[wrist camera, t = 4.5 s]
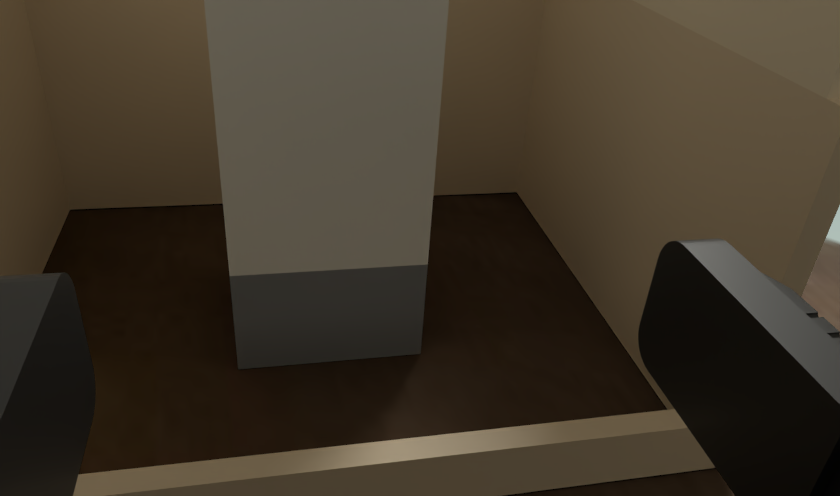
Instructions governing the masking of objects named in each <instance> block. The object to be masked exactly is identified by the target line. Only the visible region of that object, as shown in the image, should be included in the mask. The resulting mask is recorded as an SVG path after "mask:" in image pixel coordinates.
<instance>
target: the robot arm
mask: <svg viewBox="0 0 840 496" xmlns="http://www.w3.org/2000/svg"><path fill="white" fill-rule="evenodd" d="M839 333H840V332H839V331H838V330H837V329H836V328H835V327H834V326H832V325H831V324H830V323H829V322H828V321H827V320H826V319H825V318H824V317H820V318H819V317H818V312H817V311H816V310H815V309H814V308H812V307H811V306H810V305H809V304H808V303H807V302H806V301H805V300H803V299H802V298H801V297H800V296H799V295H798V294H797V293H796V292H795V291H793V290H792V289H791V288H789V287H787V286H785V285H784V284H782V283H780V282H778V281H776V280H774V279H773V278H771V277H769V276H767V275H765V274H764V273H762V272H760V271H759V270H758V269H757V268H755V267H754V266H753V265H752V264H751V263H750V262H749V261H748V260H747V259H746V258H745V257H743V256H742V255H741V254H740V253H739V252H738V251H737V250H736V249H735V248H734V247H733V246H731V245H730V244H729V243H728V242H727V241H725V240H723V239H718V238H716V239H698V240H680V241H670V242H668V243H667V244H665V245H664V247H663V248H662V250H661V251H660V254H659V257H658V260H657V264H656V267H655V271H654V274H653V278H652V282H651V285H650V289H649V292H648V296H647V300H646V303H645V307H644V310H643V314H642V318H641V321H640V325H639V331H638V344H639V351H640V355H641V358H642V361H643V363H644V365H645V367H646V369H647V370H648V372H649V373H650V375H651V376H652V377H653V379H654V380H655V382H656V383H657V385H658V386H659V387H660V389H661V390H662V392H663V393H664V395H665V396H666V397H667V399H668V400H669V402H670V403H671V405H672V406H673V407H674V409H675V410H676V412H677V413H678V415H679V416H680V417H681V419H682V420H683V422H684V423H685V425H686V426H687V427H688V429H689V430H690V432H691V433H692V435H693V436H694V437H695V439H696V440H697V442H698V443H699V445H700V446H701V447H702V449H703V450H704V452H705V453H706V455H707V456H708V457H709V459H710V460H711V462H712V463H713V465H714V466H715V467H716V469H717V470H718V472H719V473H720V475H721V476H722V477H723V479H724V480H725V482H726V483H727V485H728V486H729V487H730V489H731V490H732V492H733V493H734V495H735V496H840V335H839ZM94 408H95V377H94V370H93V365H92V360H91V356H90V352H89V348H88V343H87V339H86V335H85V330H84V326H83V322H82V317H81V313H80V309H79V305H78V300H77V296H76V292H75V288H74V284H73V282H72V279H71V278H70V276H69V275H68V274H67V273H46V274H28V275H9V276H0V496H73V494H74V490H75V486H76V482H77V478H78V474H79V470H80V467H81V463H82V459H83V455H84V451H85V447H86V443H87V439H88V436H89V432H90V428H91V424H92V420H93V415H94Z"/></svg>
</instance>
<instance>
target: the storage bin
mask: <svg viewBox="0 0 840 496" xmlns="http://www.w3.org/2000/svg"><path fill="white" fill-rule="evenodd" d="M511 192H517V194H518V195H519V196H520V198H521V199H522V201H523V202H524V204H525V205H526V207H527V208H528V209H529V211H530V212H531V214H532V215H533V217H534V218H535V220H536V221H537V222H538V224H539V225H540V227H541V228H542V230H543V231H544V232H545V234H546V235H547V237H548V238H549V240H550V241H551V243H552V244H553V245H554V247H555V248H556V250H557V251H558V253H559V254H560V256H561V257H562V258H563V260H564V261H565V263H566V264H567V266H568V267H569V269H570V270H571V271H572V273H573V274H574V276H575V277H576V279H577V280H578V281H579V283H580V284H581V286H582V287H583V289H584V290H585V292H586V293H587V294H588V296H589V297H590V299H591V300H592V302H593V303H594V305H595V306H596V307H597V309H598V310H599V312H600V313H601V315H602V316H603V317H604V319H605V320H606V322H607V323H608V325H609V326H610V328H611V329H612V330H613V332H614V333H615V335H616V336H617V338H618V339H619V341H620V342H621V343H622V345H623V346H624V348H625V349H626V351H627V352H628V353H629V355H630V356H631V358H632V359H633V361H634V362H635V364H636V365H637V366H638V368H639V369H640V371H641V372H642V374H643V375H644V377H645V378H646V379H647V381H648V382H649V384H650V385H651V387H652V388H653V390H654V391H655V392H656V394H657V395H658V397H659V398H660V400H661V401H662V402H663V404H664V405H665V407H666V408H667V410H661V411H652V412H643V413H634V414H625V415H616V416H607V417H597V418H588V419H579V420H570V421H561V422H552V423H543V424H534V425H525V426H515V427H506V428H497V429H488V430H479V431H470V432H461V433H452V434H443V435H434V436H424V437H415V438H406V439H397V440H388V441H379V442H370V443H361V444H352V445H342V446H333V447H324V448H315V449H306V450H297V451H288V452H279V453H270V454H260V455H251V456H242V457H233V458H224V459H215V460H206V461H197V462H188V463H178V464H169V465H160V466H151V467H142V468H133V469H124V470H115V471H106V472H97V473H87V474H78V478H77V482H76V486H75V490H74V494H73V496H503V495H511V494H518V493H526V492H534V491H542V490H549V489H557V488H565V487H572V486H580V485H588V484H595V483H603V482H611V481H618V480H626V479H634V478H641V477H649V476H657V475H664V474H672V473H680V472H687V471H695V470H703V469H710V468H716V467H715V466H714V465H713V463H712V462H711V460H710V459H709V457H708V456H707V455H706V453H705V452H704V450H703V449H702V447H701V446H700V445H699V443H698V442H697V440H696V439H695V437H694V436H693V435H692V433H691V432H690V430H689V429H688V427H687V426H686V425H685V423H684V422H683V420H682V419H681V417H680V416H679V415H678V413H677V412H676V410H675V409H674V407H673V406H672V405H671V403H670V402H669V400H668V399H667V397H666V396H665V395H664V393H663V392H662V390H661V389H660V387H659V386H658V385H657V383H656V382H655V380H654V379H653V377H652V376H651V375H650V373H649V372H648V370H647V369H646V367H645V365H644V363H643V361H642V358H641V355H640V351H639V344H638V331H639V325H640V321H641V318H642V314H643V310H644V307H645V303H646V300H647V296H648V292H649V289H650V285H651V282H652V278H653V274H654V271H655V267H656V264H657V260H658V257H659V254H660V251H661V250H662V248H663V247H664V245H665V244H667V243H668V242H670V241H680V240H698V239H716V238H718V239H723V240H725V241H727V242H728V243H729V244H730V245H731V246H733V247H734V248H735V249H736V250H737V251H738V252H739V253H740V254H741V255H742V256H743V257H745V258H746V259H747V260H748V261H749V262H750V263H751V264H752V265H753V266H754V267H755V268H757V269H758V270H759V271H760V272H762V273H764V274H765V275H767V276H769V277H771V278H773V279H774V280H776V281H778V282H780V283H782V284H784V285H785V286H787V287H789V288H791V289H792V290H793V291H795V292H796V293H797V294H798V295H799V296H800V297H801V296H802V294H803V291H804V289H805V286H806V284H807V282H808V279H809V277H810V274H811V272H812V270H813V267H814V265H815V262H816V260H817V258H818V255H819V253H820V250H821V248H822V246H823V243H824V241H825V238H826V236H827V234H828V231H829V229H830V226H831V224H832V222H833V219H834V217H835V214H836V212H837V210H838V207H839V205H840V0H449V7H448V19H447V32H446V44H445V57H444V69H443V81H442V94H441V106H440V119H439V131H438V144H437V156H436V168H435V181H434V193H433V196H434V195H460V194H486V193H511ZM202 204H223V200H222V189H221V179H220V168H219V157H218V146H217V135H216V124H215V114H214V103H213V92H212V81H211V70H210V60H209V49H208V38H207V27H206V16H205V6H204V0H0V276H9V275H28V274H42V273H43V270H44V268H45V266H46V263H47V261H48V259H49V257H50V254H51V252H52V250H53V247H54V245H55V243H56V241H57V238H58V236H59V234H60V232H61V229H62V227H63V225H64V222H65V220H66V218H67V216H68V213H69V211H70V210H73V209H98V208H124V207H150V206H176V205H202Z"/></svg>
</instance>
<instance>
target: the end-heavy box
mask: <svg viewBox="0 0 840 496" xmlns="http://www.w3.org/2000/svg"><path fill="white" fill-rule="evenodd" d="M204 6H205V16H206V27H207V38H208V49H209V60H210V70H211V81H212V92H213V103H214V114H215V124H216V135H217V146H218V157H219V168H220V179H221V189H222V200H223V211H224V222H225V233H226V243H227V254H228V265H229V276H230V287H231V297H232V308H233V319H234V330H235V341H236V351H237V362H238V369H249V368H261V367H273V366H284V365H296V364H308V363H320V362H331V361H343V360H355V359H366V358H378V357H390V356H401V355H413V354H421V342H422V330H423V318H424V305H425V293H426V280H427V268H428V255H429V243H430V231H431V218H432V206H433V193H434V181H435V168H436V156H437V144H438V131H439V119H440V106H441V94H442V81H443V69H444V57H445V44H446V32H447V19H448V7H449V0H204Z"/></svg>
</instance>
